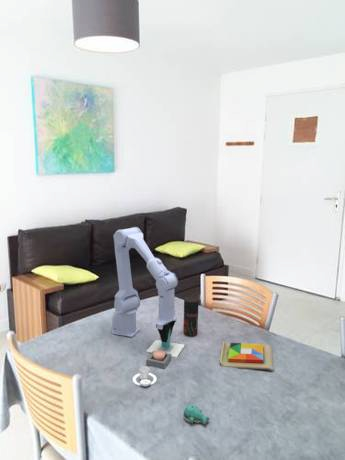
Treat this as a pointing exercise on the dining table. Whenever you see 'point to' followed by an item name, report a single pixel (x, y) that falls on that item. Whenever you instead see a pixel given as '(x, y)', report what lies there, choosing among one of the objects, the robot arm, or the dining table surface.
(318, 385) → the dining table surface
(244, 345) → the wooden puzzle
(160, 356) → the button
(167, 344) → the marker
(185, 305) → the deodorant
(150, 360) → the housing
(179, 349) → the pad
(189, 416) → the whale figurine
